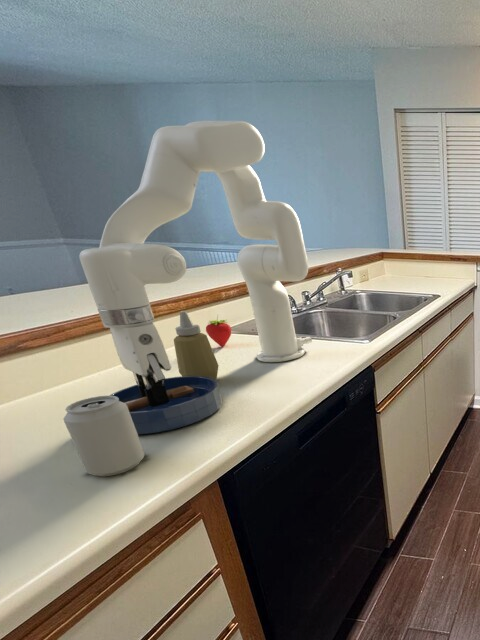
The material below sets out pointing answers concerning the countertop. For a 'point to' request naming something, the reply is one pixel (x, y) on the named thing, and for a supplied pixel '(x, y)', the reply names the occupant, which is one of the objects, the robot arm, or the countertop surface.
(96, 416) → the can
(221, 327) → the strawberry
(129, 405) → the stirring stick
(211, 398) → the bowl
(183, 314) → the squeeze bottle
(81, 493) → the countertop surface
